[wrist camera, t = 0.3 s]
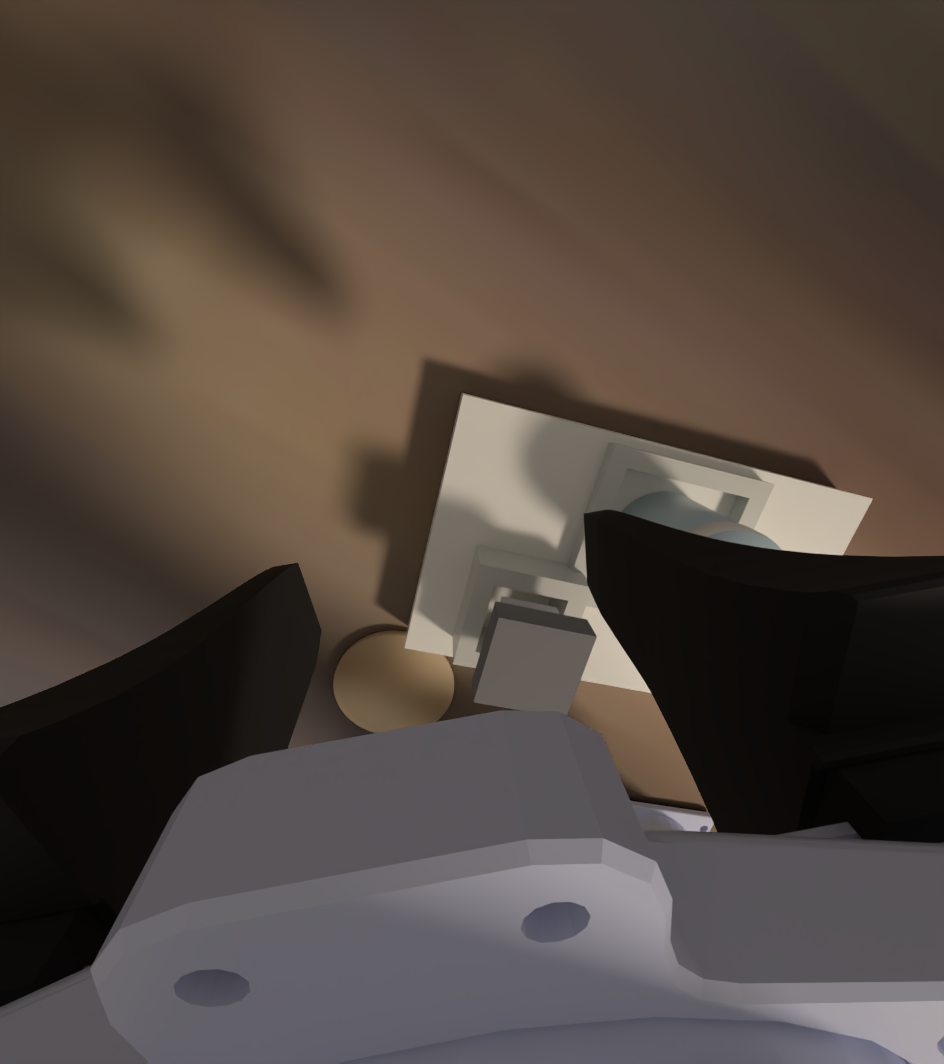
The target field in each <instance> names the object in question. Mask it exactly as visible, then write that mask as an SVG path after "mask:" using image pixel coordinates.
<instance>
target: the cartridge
mask: <svg viewBox="0 0 944 1064" xmlns="http://www.w3.org/2000/svg"><path fill="white" fill-rule="evenodd" d="M622 512H623V513H627V514H630V515H633V516H636V517H640V518H643V519H646V520H649V521H652V522H655V523H659V524H662V525H665V526H668V527H672V528H675V529H679V530H682V531H686V532H689V533H693V534H697V535H701V536H705V537H709V538H713V539H718V540H722V541H727V542H732V543H738V544H744V545H749V546H755V547H761V548H769V549H776V550H782V549H781V548H780V547H779V546H778V545H777V544H776V543H775V542H774V541H773V540H772V539H770V538H769V537H767V536H766V535H764V534H762V533H760V532H758V531H756V530H754V529H752V528H750V527H748V526H746V525H743V524H740V523H737V522H735V521H733V520H731V519H729V518H727V517H725V516H723V515H721V514H719V513H717V512H715V511H713V510H711V509H709V508H707V507H705V506H703V505H701V504H699V503H697V502H695V501H693V500H691V499H689V498H688V497H685V496H683V495H681V494H678V493H675V492H669V491H660V492H654V493H649V494H647V495H644V496H642V497H640V498H638V499H636V500H634V501H633V502H631V503H630V504H629V505H628V506H627V507H626V508H625V509H624V510H623V511H622Z"/></svg>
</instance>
